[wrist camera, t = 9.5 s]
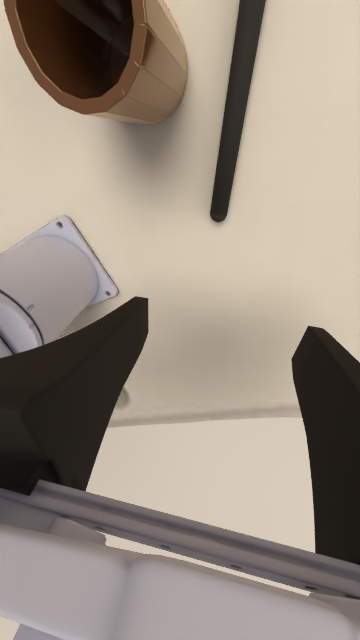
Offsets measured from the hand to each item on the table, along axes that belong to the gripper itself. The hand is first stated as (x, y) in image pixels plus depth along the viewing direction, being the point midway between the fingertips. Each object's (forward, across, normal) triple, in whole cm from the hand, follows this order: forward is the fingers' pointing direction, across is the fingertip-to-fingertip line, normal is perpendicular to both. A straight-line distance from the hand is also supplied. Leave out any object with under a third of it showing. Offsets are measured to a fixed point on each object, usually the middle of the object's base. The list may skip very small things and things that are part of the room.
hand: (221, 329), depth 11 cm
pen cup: (+10, +7, -10) cm, 16 cm away
